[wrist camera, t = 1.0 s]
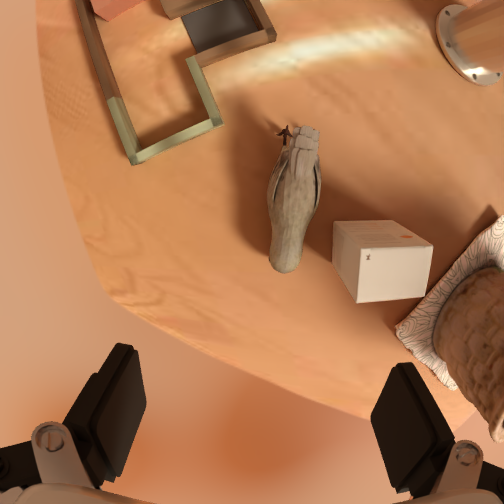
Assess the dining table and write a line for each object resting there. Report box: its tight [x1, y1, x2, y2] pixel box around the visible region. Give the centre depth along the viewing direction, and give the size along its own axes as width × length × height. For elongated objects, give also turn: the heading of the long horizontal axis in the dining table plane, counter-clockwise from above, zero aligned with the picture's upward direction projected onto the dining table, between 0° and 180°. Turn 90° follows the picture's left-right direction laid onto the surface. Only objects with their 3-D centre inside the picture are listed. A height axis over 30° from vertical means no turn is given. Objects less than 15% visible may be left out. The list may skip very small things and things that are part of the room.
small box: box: [332, 220, 433, 303], centre depth 31 cm, size 8×6×10 cm
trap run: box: [75, 0, 277, 166], centre depth 27 cm, size 20×28×2 cm
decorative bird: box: [267, 125, 321, 273], centre depth 31 cm, size 5×16×8 cm, turn 174°
